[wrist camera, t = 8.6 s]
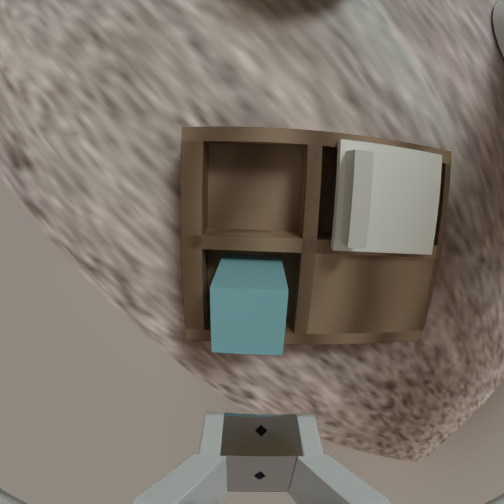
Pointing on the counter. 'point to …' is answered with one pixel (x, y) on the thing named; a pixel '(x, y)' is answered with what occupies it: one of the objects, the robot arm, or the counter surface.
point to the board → (296, 235)
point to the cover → (385, 198)
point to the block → (248, 305)
